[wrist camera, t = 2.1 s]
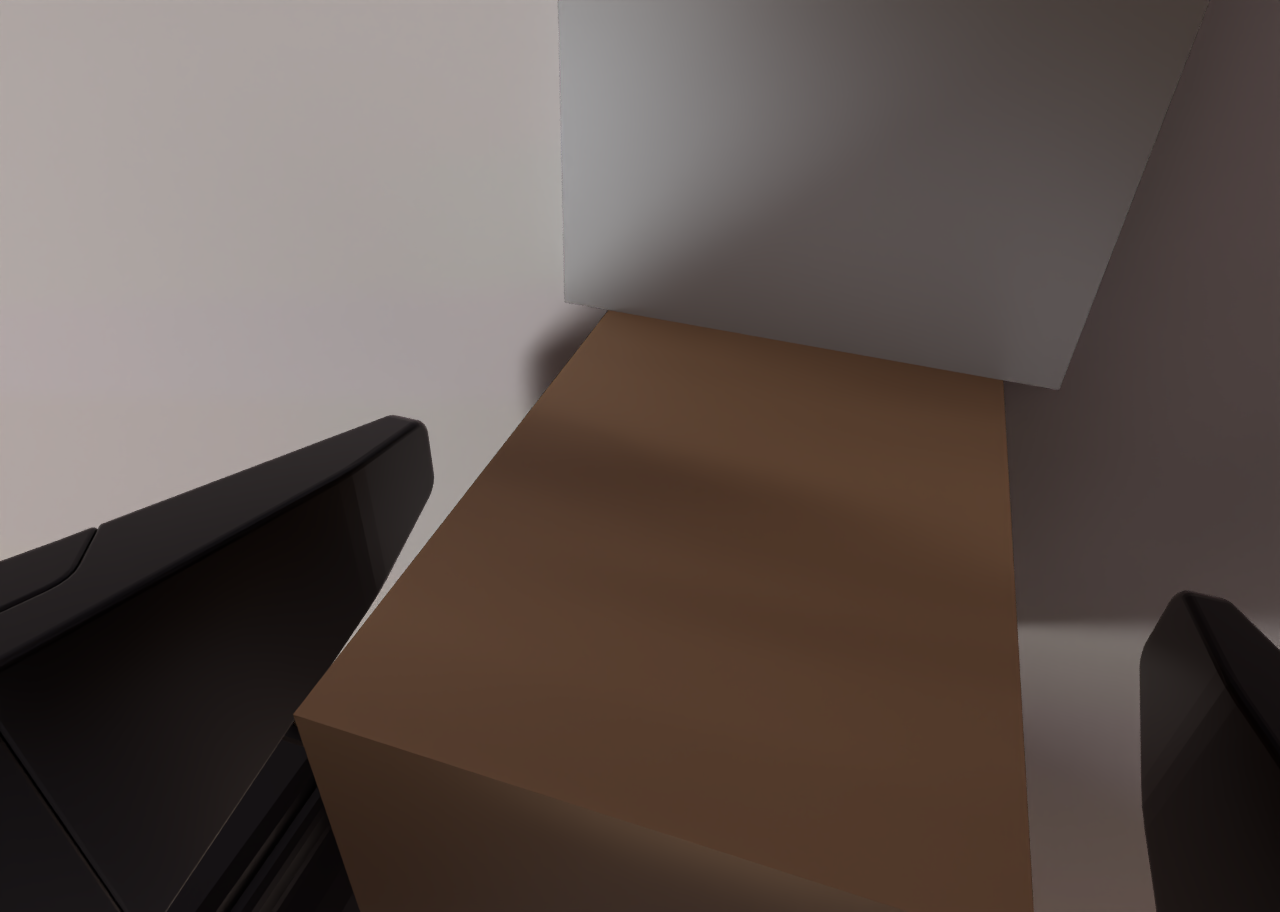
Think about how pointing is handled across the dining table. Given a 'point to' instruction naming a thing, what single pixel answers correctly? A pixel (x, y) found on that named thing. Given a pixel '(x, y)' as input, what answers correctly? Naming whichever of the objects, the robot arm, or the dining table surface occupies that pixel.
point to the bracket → (759, 474)
